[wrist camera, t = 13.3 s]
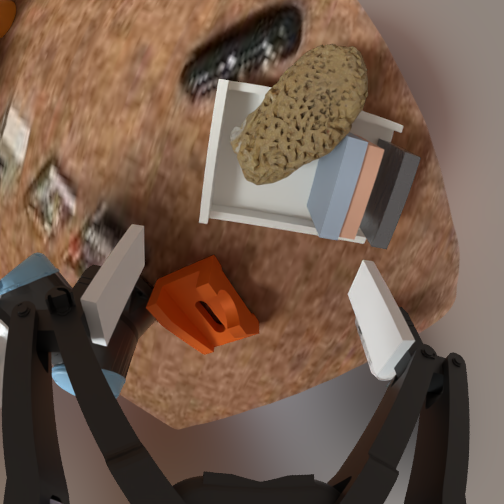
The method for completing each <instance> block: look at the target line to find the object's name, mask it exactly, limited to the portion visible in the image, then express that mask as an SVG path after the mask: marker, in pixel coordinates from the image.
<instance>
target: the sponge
mask: <svg viewBox="0 0 504 504" xmlns="http://www.w3.org/2000/svg"><path fill="white" fill-rule="evenodd" d="M367 96H368V78H367V69H366V65H365V63H364V60H363V57H362V55H361V53H360V52H359V51H358V50H357V49H356V48H355V47H353V46H351V47H342V46H339V47H338V46H336V45H333V44H330V45H325V47H324V46H323V45H320V46H318V47H316V48H314V49H312V50H309V51H308V52H307V53H305V54H304V55H303V56H302V57H301V58H300V59H299V60H298V61H296V62H295V63H294V64H293V65H292V66H291V67H290V68H288V69H287V71H286V72H285V73H284V74H283V75H282V76H281V77H280V79H279V81H278V82H277V84H275V85H273V87H272V88H271V89H270V90H269V91H268V92H267V93H266V94H265V98H264V100H263V101H262V103H261V105H260V106H259V107H258V108H257V109H256V110H255V111H254V112H252V113H250V114H249V115H248V116H247V117H246V119H245V120H244V122H243V123H242V125H241V126H235V127H234V129H233V130H232V132H231V137H230V144H231V146H232V149H233V151H234V153H236V154H237V159H238V162H239V164H240V167H241V168H242V172H243V175H244V178H245V179H246V180H247V181H249V182H251V183H254V184H255V185H264V184H271V183H275V182H277V181H280V180H282V179H284V178H287V177H288V176H289V175H291V174H292V173H293V172H294V171H296V170H297V169H298V168H300V167H301V166H303V165H305V164H307V163H310V162H312V161H313V160H317V159H319V158H321V157H323V156H325V155H327V154H329V153H330V152H331V151H332V150H333V149H334V148H335V146H336V145H338V144H339V143H340V142H341V140H342V139H343V138H345V137H346V135H347V134H348V133H349V132H350V131H351V128H352V123H353V122H354V121H355V119H356V118H357V117H358V115H359V113H360V112H361V111H362V110H363V107H364V104H365V100H366V97H367Z"/></svg>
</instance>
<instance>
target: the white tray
mask: <svg viewBox="0 0 504 504" xmlns="http://www.w3.org/2000/svg"><path fill="white" fill-rule="evenodd" d="M271 88H272V87H266V86H261V85H255V84H249V83H242V82H235V81H229V80H222V79H219V82H218V87H217V93H216V99H215V105H214V112H213V118H212V124H211V131H210V138H209V145H208V152H207V159H206V167H205V175H204V183H203V191H202V200H201V209H200V218H199V223H204V224H207V223H208V220H209V218H213V219H220V220H226V221H233V222H239V223H245V224H252V225H258V226H264V227H270V228H276V229H282V230H288V231H294V232H300V233H306V234H312V235H317V236H319V235H318V233H317V230H316V228H315V225H314V223H313V220H312V218H311V215H310V213H309V211H308V208H307V202H308V199H309V195H310V191H311V187H312V184H313V180H314V176H315V172H316V168H317V165H318V161H319V159H317V160H313V161H312V162H310V163H307V164H305V165H303V166H301V167H300V168H298V169H297V170H296V171H294V172H293V173H292V174H291V175H289V176H288V177H287V178H284V179H282V180H280V181H277V182H275V183H271V184H264V185H255V184H254V183H251V182H249V181H247V180H246V179H245V178H244V175H243V172H242V168H241V167H240V164H239V162H238V159H237V154H236V153H234V151H233V149H232V146H231V144H230V137H231V132H232V130H233V129H234V127H235V126H241V125H242V123H243V122H244V120H245V119H246V117H247V116H248V115H249V114H250V113H252V112H254V111H255V110H256V109H257V108H258V107H259V106H260V105H261V103H262V101H263V100H264V98H265V94H266V93H267V92H268V91H269V90H270V89H271ZM402 130H403V125H400V124H398V123H395V122H393V121H390V120H387V119H385V118H382V117H379V116H376V115H373V114H370V113H367V112H364V111H361V112H360V113H359V115H358V117H357V118H356V119H355V121H354V122H353V123H352V128H351V131H350V133H352V134H355V135H358V136H360V137H362V138H364V139H366V140H368V141H370V142H371V143H373V144H375V145H377V143H378V140H379V139H382V140H385V141H388V142H391V140H392V136H393V133H394V131H397V132H400V133H402ZM338 239H340V240H345V241H351V242H356V243H361V244H364V243H365V240H366V237H365V235H364V234H363V232H362V231H361V229H360V228H359V229H358V231H357V234H356V237H355V239H354V240H353V239H348V238H343V237H338Z"/></svg>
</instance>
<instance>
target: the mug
mask: <svg viewBox="0 0 504 504" xmlns="http://www.w3.org/2000/svg"><path fill="white" fill-rule="evenodd" d="M15 14H16V5H15V3H14V2H13V1H9V0H0V38H2V37H3V36H4V35H5V34H6V33H7V32H8V30H9V29H10V27H11V25H12V23H13V21H14V18H15Z"/></svg>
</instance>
